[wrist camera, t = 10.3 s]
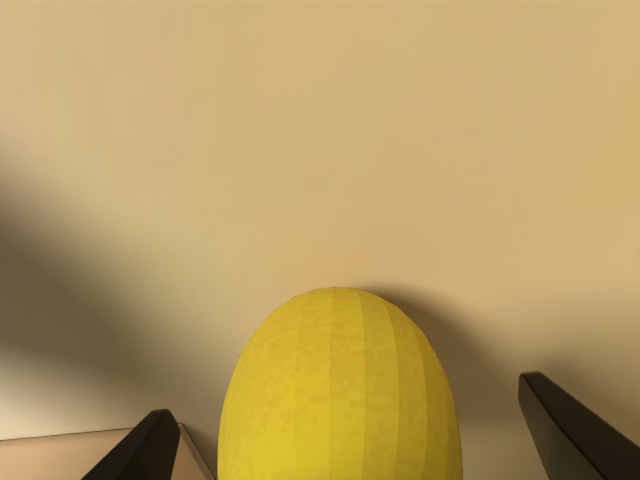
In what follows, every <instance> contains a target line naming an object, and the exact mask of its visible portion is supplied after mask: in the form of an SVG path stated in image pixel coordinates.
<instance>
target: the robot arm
mask: <svg viewBox="0 0 640 480" xmlns="http://www.w3.org/2000/svg"><path fill="white" fill-rule="evenodd" d="M518 399H519V404H520V407H521V410H522V412H523V415H524V417H525V420H526V422H527V425H528V428H529V430H530V433H531V435H532V438H533V440H534V443H535V446H536V448H537V451H538V453H539V456H540V459H541V461H542V464H543V466H544V469H545V471H546V473H547V476H548V478H549V480H640V447H639V446H637V445H636V444H635V443H633V442H632V441H631V440H629V439H628V438H627V437H626V436H624V435H623V434H622V433H620V432H619V431H618V430H616V429H615V428H614V427H612V426H611V425H610V424H608V423H607V422H606V421H604V420H603V419H602V418H600V417H599V416H598V415H596V414H595V413H594V412H593V411H591V410H590V409H589V408H587V407H586V406H585V405H583V404H582V403H581V402H579V401H578V400H577V399H575V398H574V397H573V396H571V395H570V394H569V393H567V392H566V391H565V390H563V389H562V388H561V387H560V386H558V385H557V384H556V383H554V382H553V381H552V380H550V379H549V378H548V377H546V376H545V375H544V374H542V373H541V372H538V371H533V372H523V373H521V374H520V376H519V389H518ZM180 436H181V430H180V427H179V425H178V423H177V421H176V420H175V418H174V416H173V415H172V413H171V411H170V410H168V409H158V410H153V411H152V412H150V413H149V414H148V415H147V416H146V417H145V418H144V419H143V420H142V421H141V422H140V423H139V424H138V425H137V426H136V427H135V428H134V429H132V430H131V431H130V432H129V433H128V434H127V435H126V436H125V437H124V438H123V439H122V440H121V441H120V442H119V443H118V444H117V445H116V446H115V447H114V448H113V449H112V450H111V451H110V452H109V453H107V454H106V455H105V456H104V457H103V458H102V459H101V460H100V461H99V462H98V463H97V464H96V465H95V466H94V467H93V468H92V469H91V470H90V471H89V472H88V473H87V474H86V475H85V476H84V477H83V478H81V479H80V480H171V477H172V472H173V468H174V464H175V459H176V455H177V450H178V446H179V441H180Z"/></svg>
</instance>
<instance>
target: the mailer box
mask: <svg viewBox="0 0 640 480" xmlns="http://www.w3.org/2000/svg"><path fill="white" fill-rule="evenodd" d="M178 425H179V427H180V430H181V436H180V441H179V446H178V450H177V455H176V459H175V464H174V468H173V472H172V477H171V480H215V479H214V478H213V476H212V474H211V473H210V471H209V469H208V468H207V466H206V464H205V462H204V461H203V459H202V457H201V456H200V454H199V452H198V451H197V449H196V447H195V445H194V444H193V442H192V440H191V439H190V437H189V435H188V433H187V432H186V430H185V428H184V427H183V425H182V424H178ZM132 429H134V428H130V429H119V430H109V431H98V432H88V433H77V434H66V435H56V436H45V437H35V438H24V439H14V440H3V441H0V480H80V479H81V478H83V477H84V476H85V475H86V474H87V473H88V472H89V471H90V470H91V469H92V468H93V467H94V466H95V465H96V464H97V463H98V462H99V461H100V460H101V459H102V458H103V457H104V456H105V455H106V454H107V453H109V452H110V451H111V450H112V449H113V448H114V447H115V446H116V445H117V444H118V443H119V442H120V441H121V440H122V439H123V438H124V437H125V436H126V435H127V434H128V433H129V432H130V431H131V430H132Z"/></svg>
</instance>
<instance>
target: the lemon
mask: <svg viewBox="0 0 640 480" xmlns="http://www.w3.org/2000/svg"><path fill="white" fill-rule="evenodd" d="M218 480H463V466H462V450H461V441H460V433H459V427H458V420H457V414H456V409H455V403H454V399H453V395H452V391H451V387H450V384H449V382H448V379H447V376H446V374H445V371H444V369H443V367H442V365H441V363H440V361H439V359H438V358H437V356H436V354H435V352H434V350H433V349H432V347H431V345H430V343H429V341H428V340H427V338H426V336H425V335H424V333H423V332H422V331H421V330H420V328H419V327H418V326H417V325H416V324H415V323H414V322H413V321H412V320H411V319H410V318H409V317H408V316H407V315H405V314H404V313H403V312H402V311H401V310H400V309H399V308H398V307H397V306H395V305H393V304H391V303H390V302H388V301H386V300H384V299H382V298H381V297H379V296H377V295H375V294H372V293H369V292H366V291H362V290H359V289H355V288H343V287H330V288H323V289H316V290H312V291H309V292H307V293H304V294H301V295H299V296H296V297H294V298H292V299H290V300H289V301H287V302H286V303H285V304H283V305H282V306H280V307H279V308H277V309H276V310H274V311H273V312H272V313H271V314H270V315H269V316H268V317H267V318H266V319H265V321H264V322H263V323H262V324H261V325H260V327H259V328H258V329H257V330H256V332H255V333H254V334H253V335H252V337H251V338H250V339H249V341H248V343H247V344H246V346H245V347H244V349H243V351H242V353H241V355H240V357H239V360H238V362H237V365H236V368H235V370H234V373H233V376H232V378H231V381H230V384H229V386H228V389H227V393H226V396H225V400H224V404H223V409H222V414H221V420H220V428H219V437H218Z"/></svg>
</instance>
